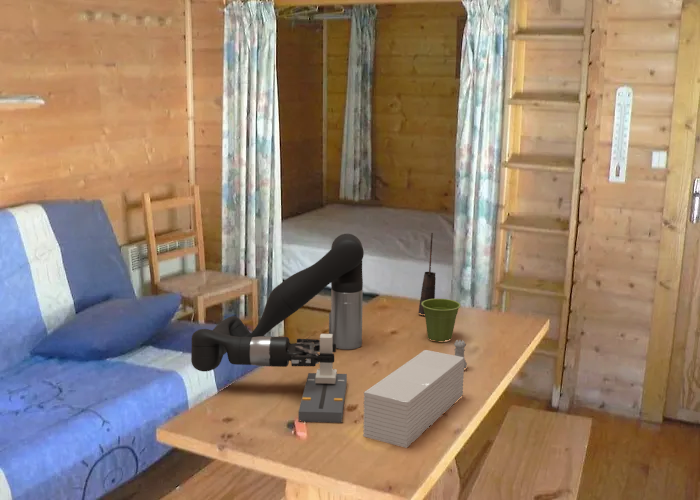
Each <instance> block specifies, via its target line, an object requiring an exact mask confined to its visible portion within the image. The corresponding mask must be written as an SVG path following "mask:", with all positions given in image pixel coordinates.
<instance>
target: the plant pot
mask: <svg viewBox="0 0 700 500" xmlns="http://www.w3.org/2000/svg"><path fill="white" fill-rule="evenodd" d="M421 305H422V306H423V309H424V313H425V316H424V320H425V326H426V334H427V339H428V338H429V339H431V340H436V341H435V342H438V341H445V340H449V339H451V338H452V337H453V334H454V328H455V325H456V324H455V323H456V319H457V316H458V313H459V309H460V308H461V307H462V306H461V303H460V302H458V301H456V300H453V299H448V298H435V299H428V300H425V301H423V302H422V303H421ZM429 339H428V340H429ZM431 340H430V341H431ZM451 340H452V339H451Z"/></svg>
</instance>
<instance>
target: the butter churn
mask: <svg viewBox="0 0 700 500" xmlns="http://www.w3.org/2000/svg"><path fill="white" fill-rule="evenodd" d="M433 235H434V234H433V232H431V235H430V245H429V247H430V248H429V249H430V250H429V265H428V271H424V275H423V279H422V284H421V285H422V286H421V291H420V299H419V305H418V313H421V314H425V313H424V309H423V306H422V305H421V303H422V302H423V301H425V300H428V299H436V272H432V270H431V269H432V255H433V254H432V252H433V238H434V237H433Z"/></svg>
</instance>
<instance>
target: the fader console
mask: <svg viewBox="0 0 700 500" xmlns="http://www.w3.org/2000/svg"><path fill="white" fill-rule="evenodd" d="M316 373H317V372H308V373H307V377H306V380H305V386H304V388H303V393H302V397H301V401H300V404H299V407H298V421H299V420H301V421H305V422H304V423H333V424H334V423H336V424H339V423H341V424H342V423H343V416H344V408H345V407H344V406H345V399H346V391H347V384H348V383H347V382H348V381H347V380H348V379H347V378H348V377H347V376H348V374H347V373H337V376H336V382H335V384H328V383H315V377H316Z"/></svg>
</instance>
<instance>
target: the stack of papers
mask: <svg viewBox="0 0 700 500" xmlns="http://www.w3.org/2000/svg"><path fill="white" fill-rule="evenodd" d="M464 358H465V356H464V357H460V356H455V354H449V353H444V352H438V351H433V350H429V349H428V350H427V349H424V350H422V351H421V352H419V354H417V355H416V356H414V357H413V358H411V359H410V360H408V361H406V362H405V363H404V364H403V365H401V366H399V367H397V369H395V370H393V371H392V372H391V373H389V374H388V375H387V376H386V377H383V378H382V379H381V380H380V381H378V382H377V383H375V384H373V386H371V387H370V388H368V389H367V390H365V391H364V392H363V427H362V428H363V435H362V436H363V437H364V438H368V439H371V440H375V441H379V442H382V443H387V444H389V445H393V446H398V447H402V448H406V449H407V448H408V447H410V445H412V444H413V443H414V442H415V441H416V440H417V439H418V438H419V437H421V436H422V435H423V434H424V433H425V432H426V431H427V430H428V429H429V428H430V427H431V426H433V425H434V424H435V423H436V422H437V421H438V420H439V419H440V418H441V417H442V416H443V415H442V414H443V413H444V412H446V411H447V410H448V409H449V408H450V407H451V406H452V405H453V404H454V403H455V402H456V401H457V400H458V399H459V398H460V397H461V396H462V395H463V394H464V391H463V390H464V378H465V377H464V376H465V375H464V374H465V373H464V372H465V371H464V369H463V368H464V362H463V361H464ZM453 406H454V405H453ZM453 406H452V407H453ZM452 407H451V408H452ZM451 408H450V409H451ZM450 409H449V410H450ZM449 410H448V411H449ZM448 411H447V412H448ZM447 412H446V413H447ZM441 415H442V416H441ZM440 416H441V417H440ZM439 417H440V418H439ZM438 418H439V419H438ZM437 419H438V420H437ZM436 420H437V421H436ZM435 421H436V422H435ZM434 422H435V423H434ZM433 423H434V424H433ZM430 425H431V426H430ZM429 426H430V427H429ZM427 428H428V429H427ZM426 429H427V430H426ZM425 430H426V431H425ZM424 431H425V432H424ZM423 432H424V433H423ZM422 433H423V434H422ZM412 442H413V443H412ZM411 443H412V444H411Z"/></svg>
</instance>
